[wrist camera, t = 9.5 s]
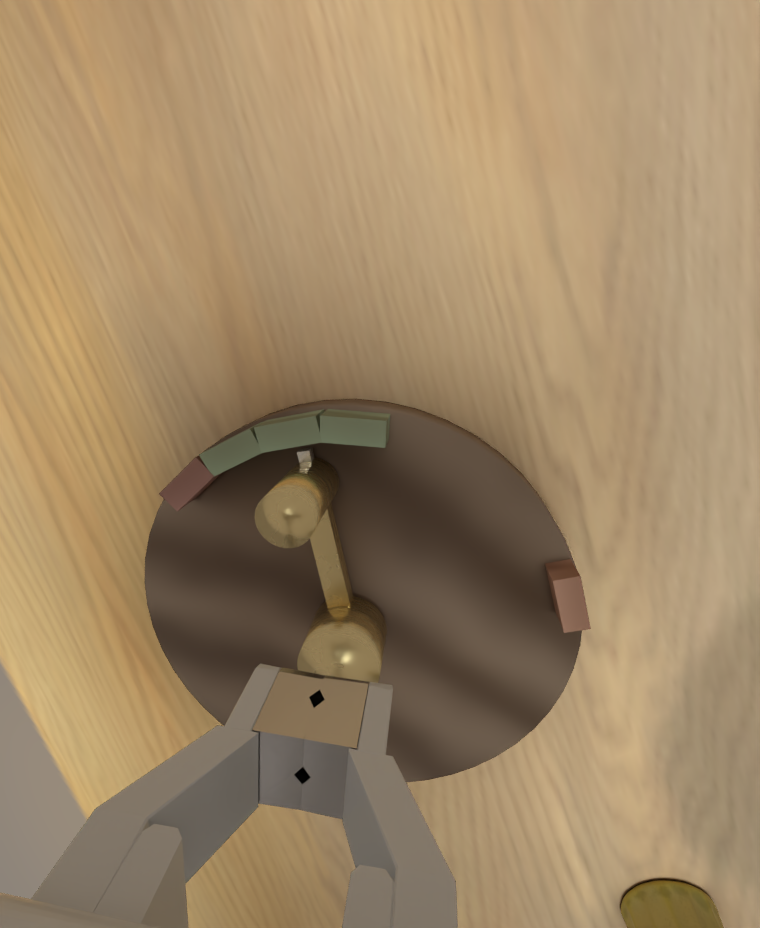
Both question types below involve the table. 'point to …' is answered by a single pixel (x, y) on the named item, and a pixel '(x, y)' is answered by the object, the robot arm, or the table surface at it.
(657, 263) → the table surface
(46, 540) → the table surface
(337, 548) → the brass dumbbell
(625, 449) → the table surface
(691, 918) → the vase
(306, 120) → the table surface
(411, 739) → the dial base
